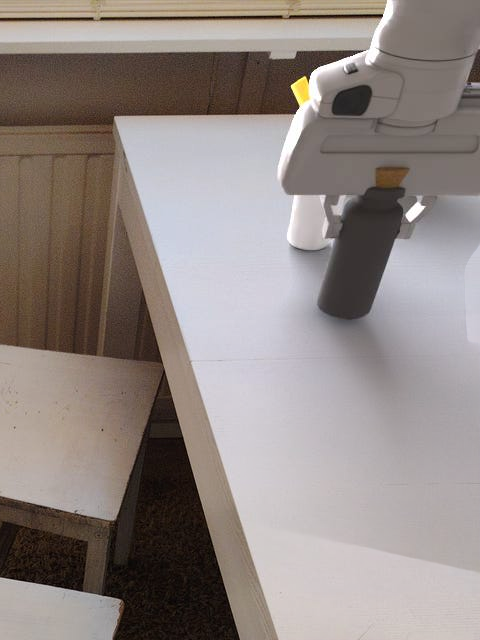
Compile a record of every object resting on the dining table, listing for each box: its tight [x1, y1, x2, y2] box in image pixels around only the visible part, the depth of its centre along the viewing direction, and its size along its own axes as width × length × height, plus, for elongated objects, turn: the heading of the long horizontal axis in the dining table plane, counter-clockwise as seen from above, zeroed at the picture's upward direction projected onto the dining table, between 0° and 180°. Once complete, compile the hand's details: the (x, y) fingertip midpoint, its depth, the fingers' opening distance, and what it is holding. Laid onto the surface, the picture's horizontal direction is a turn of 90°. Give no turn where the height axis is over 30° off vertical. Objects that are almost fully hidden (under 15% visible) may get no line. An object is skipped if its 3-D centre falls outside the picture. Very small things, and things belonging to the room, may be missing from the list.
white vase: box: [286, 195, 348, 251], centre depth 97 cm, size 7×7×15 cm
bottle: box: [316, 168, 410, 320], centre depth 85 cm, size 6×6×15 cm
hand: (364, 236), depth 85 cm, fingers closed on bottle, 6 cm apart
